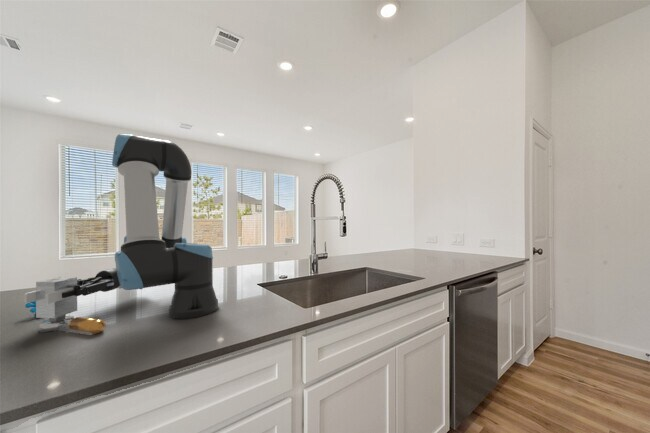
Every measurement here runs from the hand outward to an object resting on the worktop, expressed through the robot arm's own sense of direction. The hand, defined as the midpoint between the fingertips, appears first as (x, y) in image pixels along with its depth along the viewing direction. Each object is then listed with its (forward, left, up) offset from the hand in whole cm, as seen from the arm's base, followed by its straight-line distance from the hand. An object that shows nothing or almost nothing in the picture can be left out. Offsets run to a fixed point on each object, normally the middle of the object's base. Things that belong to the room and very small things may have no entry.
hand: (36, 298), depth 71 cm
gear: (+19, -12, -10) cm, 25 cm away
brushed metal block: (+1, -5, -6) cm, 8 cm away
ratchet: (-7, -5, -10) cm, 13 cm away
